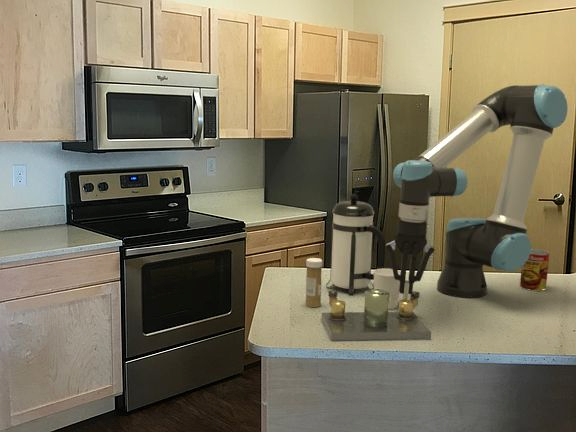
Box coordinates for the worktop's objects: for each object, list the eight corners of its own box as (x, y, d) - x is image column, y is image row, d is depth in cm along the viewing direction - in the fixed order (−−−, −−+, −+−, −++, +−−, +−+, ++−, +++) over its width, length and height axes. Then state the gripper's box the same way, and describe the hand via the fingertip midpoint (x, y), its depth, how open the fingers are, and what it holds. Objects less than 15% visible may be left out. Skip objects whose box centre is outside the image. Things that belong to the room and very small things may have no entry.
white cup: (401, 303, 185) (403, 270, 183) (397, 311, 177) (399, 277, 175) (375, 300, 187) (376, 267, 185) (369, 307, 180) (371, 273, 178)
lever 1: (338, 305, 174) (338, 290, 173) (346, 319, 163) (346, 303, 162) (325, 305, 173) (325, 290, 173) (332, 319, 162) (332, 303, 162)
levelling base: (412, 318, 171) (415, 281, 170) (430, 339, 157) (433, 298, 155) (321, 319, 169) (322, 281, 167) (331, 340, 154) (332, 298, 152)
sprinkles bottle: (324, 306, 180) (325, 260, 178) (311, 308, 178) (312, 262, 175) (314, 301, 184) (316, 256, 182) (301, 304, 182) (303, 258, 179)
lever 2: (421, 307, 174) (422, 292, 173) (410, 319, 164) (411, 303, 163) (408, 305, 175) (409, 290, 175) (396, 317, 165) (397, 301, 165)
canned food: (515, 286, 205) (518, 250, 203) (527, 282, 210) (531, 247, 208) (538, 292, 199) (541, 255, 197) (550, 288, 204) (554, 252, 202)
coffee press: (324, 295, 190) (328, 196, 185) (327, 281, 206) (330, 189, 201) (382, 298, 188) (387, 199, 183) (381, 284, 204) (386, 191, 199)
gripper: (389, 220, 164) (381, 307, 168) (438, 224, 163) (429, 311, 167) (387, 215, 171) (380, 298, 175) (434, 218, 170) (426, 302, 174)
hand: (404, 304), depth 171 cm, fingers closed
